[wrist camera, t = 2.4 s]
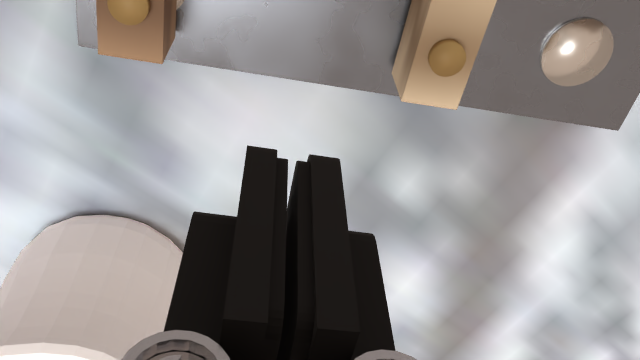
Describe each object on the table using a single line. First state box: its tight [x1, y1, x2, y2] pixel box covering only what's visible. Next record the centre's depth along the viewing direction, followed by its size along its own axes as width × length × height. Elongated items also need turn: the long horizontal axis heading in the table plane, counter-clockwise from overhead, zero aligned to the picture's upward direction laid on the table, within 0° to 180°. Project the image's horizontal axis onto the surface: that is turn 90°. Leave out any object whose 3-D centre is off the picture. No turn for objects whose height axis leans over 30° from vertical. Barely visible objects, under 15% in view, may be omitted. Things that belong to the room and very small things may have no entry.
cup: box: [0, 215, 183, 360], centre depth 30 cm, size 10×10×10 cm
